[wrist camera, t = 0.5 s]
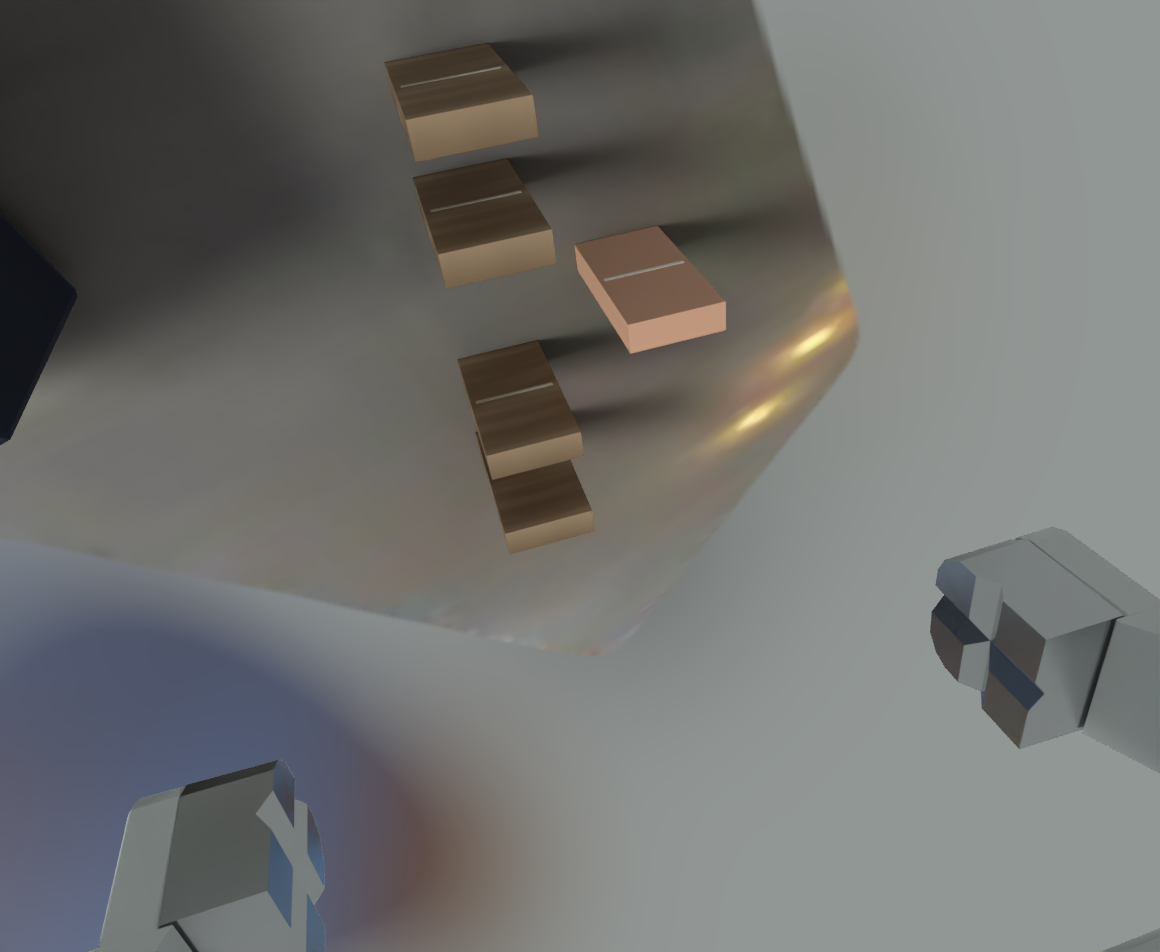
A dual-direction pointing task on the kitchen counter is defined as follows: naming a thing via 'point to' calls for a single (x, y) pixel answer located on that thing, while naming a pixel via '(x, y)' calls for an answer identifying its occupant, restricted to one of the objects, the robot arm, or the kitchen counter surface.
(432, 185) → the domino
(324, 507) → the kitchen counter surface
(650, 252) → the domino
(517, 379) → the domino
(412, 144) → the domino
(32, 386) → the speaker
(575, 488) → the domino
